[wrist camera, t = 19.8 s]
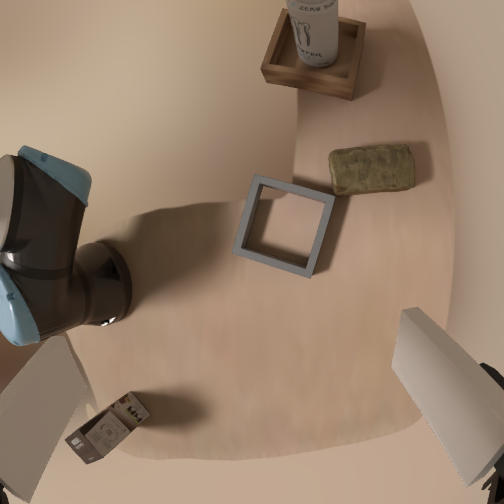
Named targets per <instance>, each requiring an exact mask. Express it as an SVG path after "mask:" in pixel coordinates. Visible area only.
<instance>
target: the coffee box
mask: <svg viewBox="0 0 504 504" xmlns="http://www.w3.org/2000/svg"><path fill="white" fill-rule="evenodd" d="M149 415H150V414H149V412H148V411H147V410H146V409H145V408H144V407H143V405H142V404H141V403H140V402H139V401H138V399H137V398H136V397H135V396H134V395H133V393H132V392H129V393H127V394H126V395H124V396H123V397H121V398H120V399H118V400H117V401H115V402H114V403H113V404H111V405H110V406H108V407H107V408H106V409H104V410H103V411H101V412H100V413H99V414H97V415H96V416H95V417H93V418H92V419H91V420H89V421H88V422H87V423H85V424H84V425H83V426H81V427H80V428H79V429H77V430H76V431H75V432H74V433H72V434H71V435H70V436H69V437H67V438H66V439H65V441H66V442H67V444H68V445H69V446H70V447H71V448H72V449H73V451H74V452H75V453H76V454H77V455H78V456H79V457H81V459H82V460H83V461H84V462H85V463H86V464H90V463H92V462H95V461H97V460H100V459H102V458H104V456H106V454H108V453H109V452H110V451H111V450H112V449H114V448H115V447H116V446H117V445H118V444H119V443H120V442H121V441H122V440H123V439H124V438H126V437H127V436H128V435H129V434H130V433H131V432H132V431H133V430H134V429H135V428H136V427H137V426H138V425H139V424H140V423H142V422H143V421H144V420H145V419H146V418H147V417H148V416H149Z"/></svg>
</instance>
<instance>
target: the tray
mask: <svg viewBox="0 0 504 504" xmlns="http://www.w3.org/2000/svg"><path fill="white" fill-rule="evenodd" d="M263 186H266V187H270V188H274V189H277V190H281V191H285V192H288V193H292V194H295V195H299V196H302V197H306V198H309V199H312V200H316V201H319V202H323V203H325V206H324V210H323V213H322V217H321V220H320V224H319V227H318V230H317V234H316V237H315V240H314V244H313V247H312V250H311V254H310V257H309V260H308V263H307V266H303V265H300V264H297V263H293V262H290V261H287V260H284V259H281V258H278V257H275V256H272V255H268V254H265V253H262V252H259V251H256V250H253V249H250V248H246V244H247V240H248V237H249V233H250V230H251V226H252V223H253V219H254V216H255V212H256V209H257V205H258V202H259V198H260V195H261V191H262V188H263ZM334 200H335V196H332V195H329V194H326V193H322V192H319V191H316V190H312V189H309V188H305V187H302V186H298V185H294V184H291V183H287V182H283V181H280V180H276V179H272V178H268V177H264V176H260V175H256V174H254V177H253V180H252V184H251V187H250V191H249V194H248V197H247V201H246V204H245V208H244V211H243V215H242V218H241V222H240V225H239V229H238V232H237V236H236V240H235V243H234V247H233V250H232V253H233V254H236V255H239V256H242V257H245V258H248V259H251V260H254V261H257V262H260V263H263V264H267V265H270V266H273V267H276V268H279V269H282V270H285V271H288V272H291V273H294V274H297V275H300V276H304V277H307V278H310V279H311V276H312V273H313V270H314V267H315V264H316V260H317V257H318V254H319V251H320V248H321V244H322V241H323V238H324V234H325V231H326V228H327V224H328V221H329V217H330V214H331V210H332V207H333V203H334Z"/></svg>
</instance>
